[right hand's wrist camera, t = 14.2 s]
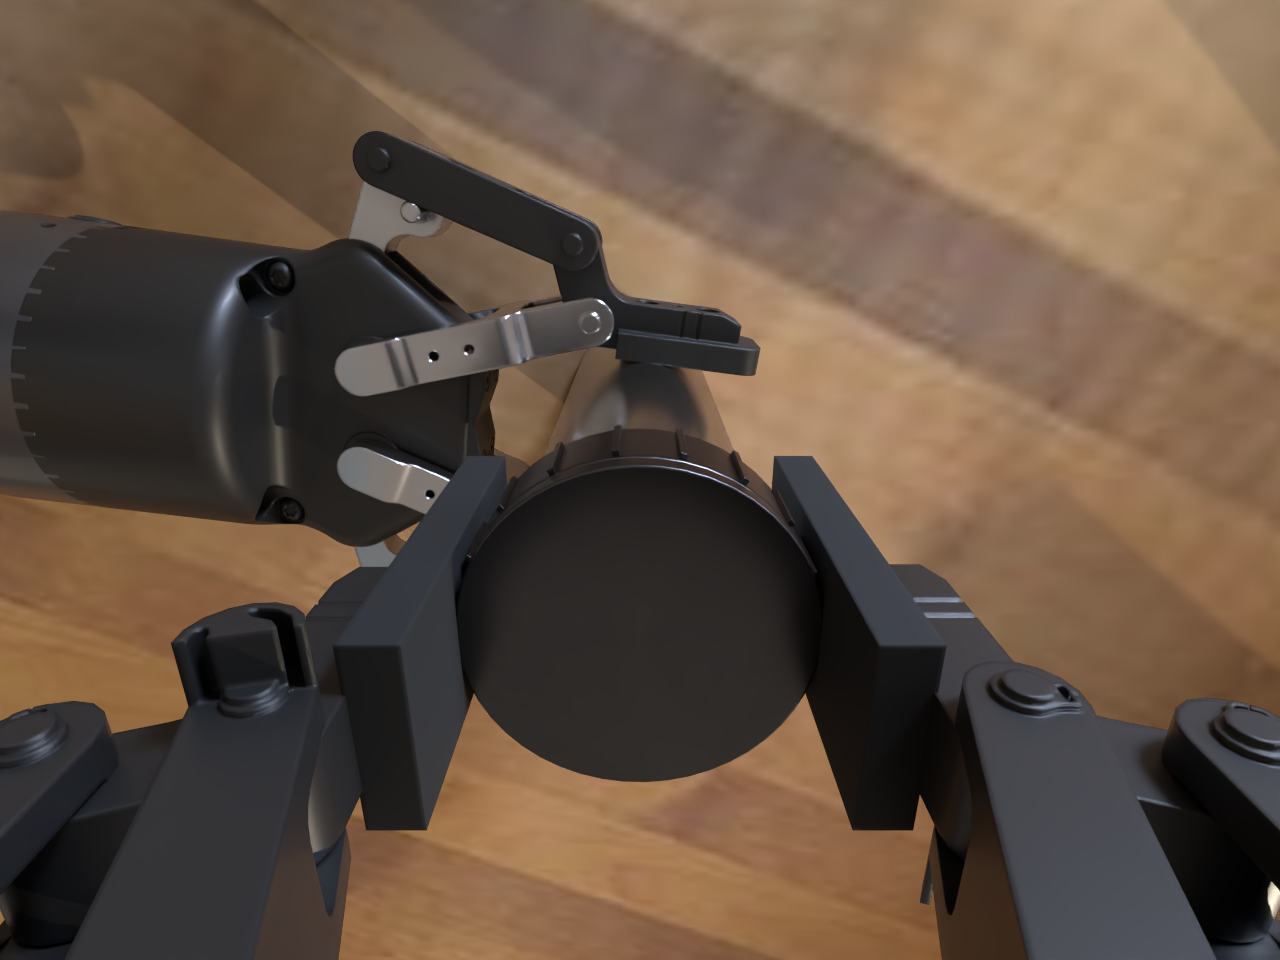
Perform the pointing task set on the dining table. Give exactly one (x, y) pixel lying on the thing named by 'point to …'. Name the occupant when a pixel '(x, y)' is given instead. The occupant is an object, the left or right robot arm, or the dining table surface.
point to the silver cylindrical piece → (637, 400)
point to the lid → (639, 607)
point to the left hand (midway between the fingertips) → (733, 446)
